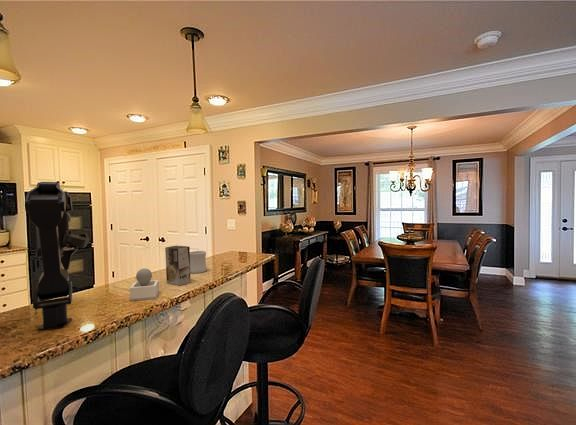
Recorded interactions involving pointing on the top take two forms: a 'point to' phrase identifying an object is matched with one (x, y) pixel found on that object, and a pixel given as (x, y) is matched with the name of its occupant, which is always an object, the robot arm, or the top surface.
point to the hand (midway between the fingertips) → (60, 272)
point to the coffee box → (178, 265)
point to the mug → (197, 261)
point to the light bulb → (144, 276)
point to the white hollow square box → (144, 291)
